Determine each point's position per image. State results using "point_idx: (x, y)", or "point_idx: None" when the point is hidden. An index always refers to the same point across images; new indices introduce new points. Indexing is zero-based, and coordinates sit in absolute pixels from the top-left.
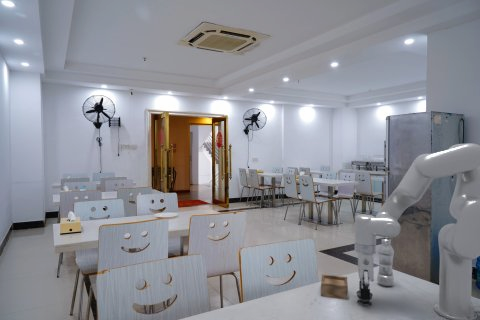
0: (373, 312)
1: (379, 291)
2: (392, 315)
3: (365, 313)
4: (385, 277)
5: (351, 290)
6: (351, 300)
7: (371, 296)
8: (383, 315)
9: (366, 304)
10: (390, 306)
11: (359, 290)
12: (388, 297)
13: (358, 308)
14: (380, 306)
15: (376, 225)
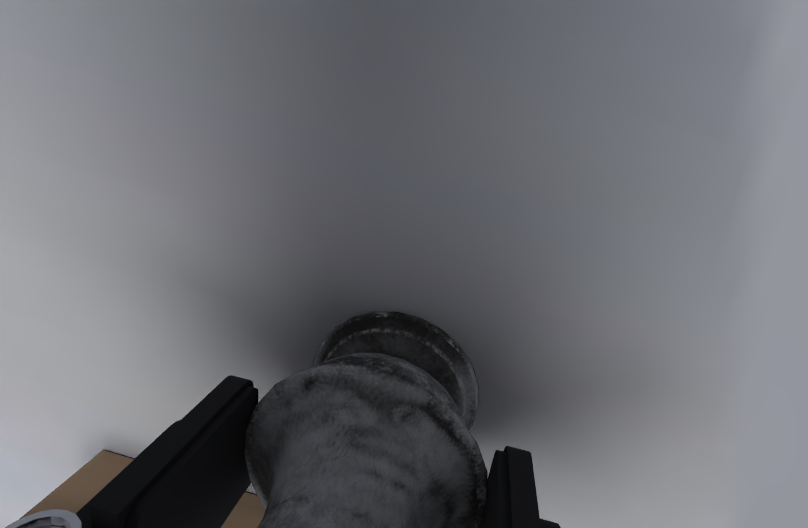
0: (650, 369)
1: (5, 99)
2: (758, 136)
3: (677, 465)
4: None
5: (109, 415)
6: None
7: (453, 415)
8: (748, 271)
9: (463, 399)
10: (443, 75)
11: (262, 504)
12: (146, 17)
13: (545, 491)
14: (461, 225)
15: None
